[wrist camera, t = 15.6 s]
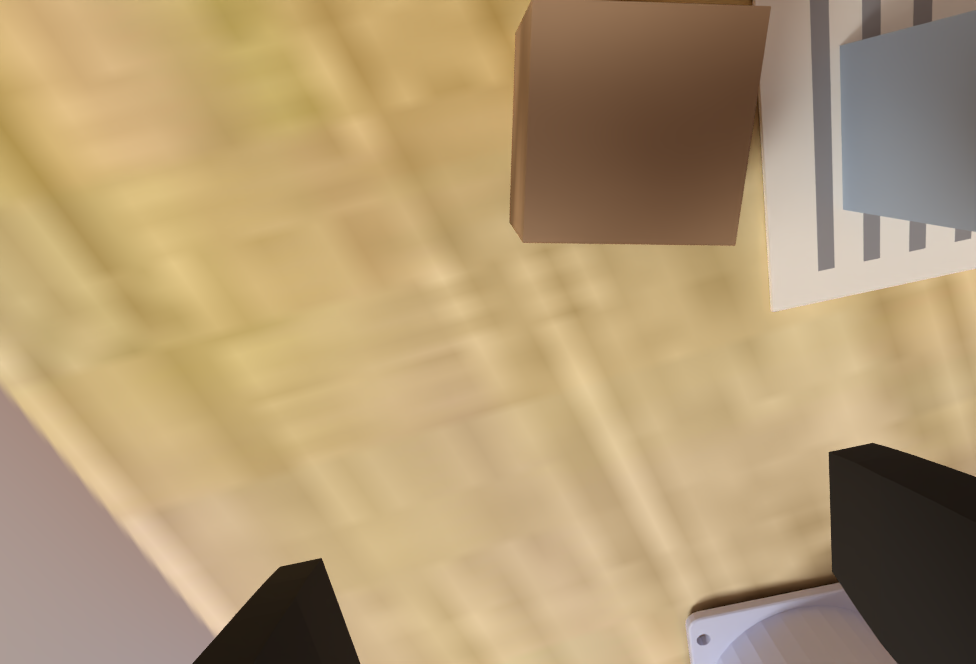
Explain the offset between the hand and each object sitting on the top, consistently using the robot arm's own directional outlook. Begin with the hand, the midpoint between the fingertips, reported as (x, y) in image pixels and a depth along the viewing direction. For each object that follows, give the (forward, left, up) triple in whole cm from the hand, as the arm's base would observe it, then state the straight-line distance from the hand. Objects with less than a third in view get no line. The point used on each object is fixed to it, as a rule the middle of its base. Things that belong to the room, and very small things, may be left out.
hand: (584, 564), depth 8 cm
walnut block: (+5, -4, -11) cm, 12 cm away
